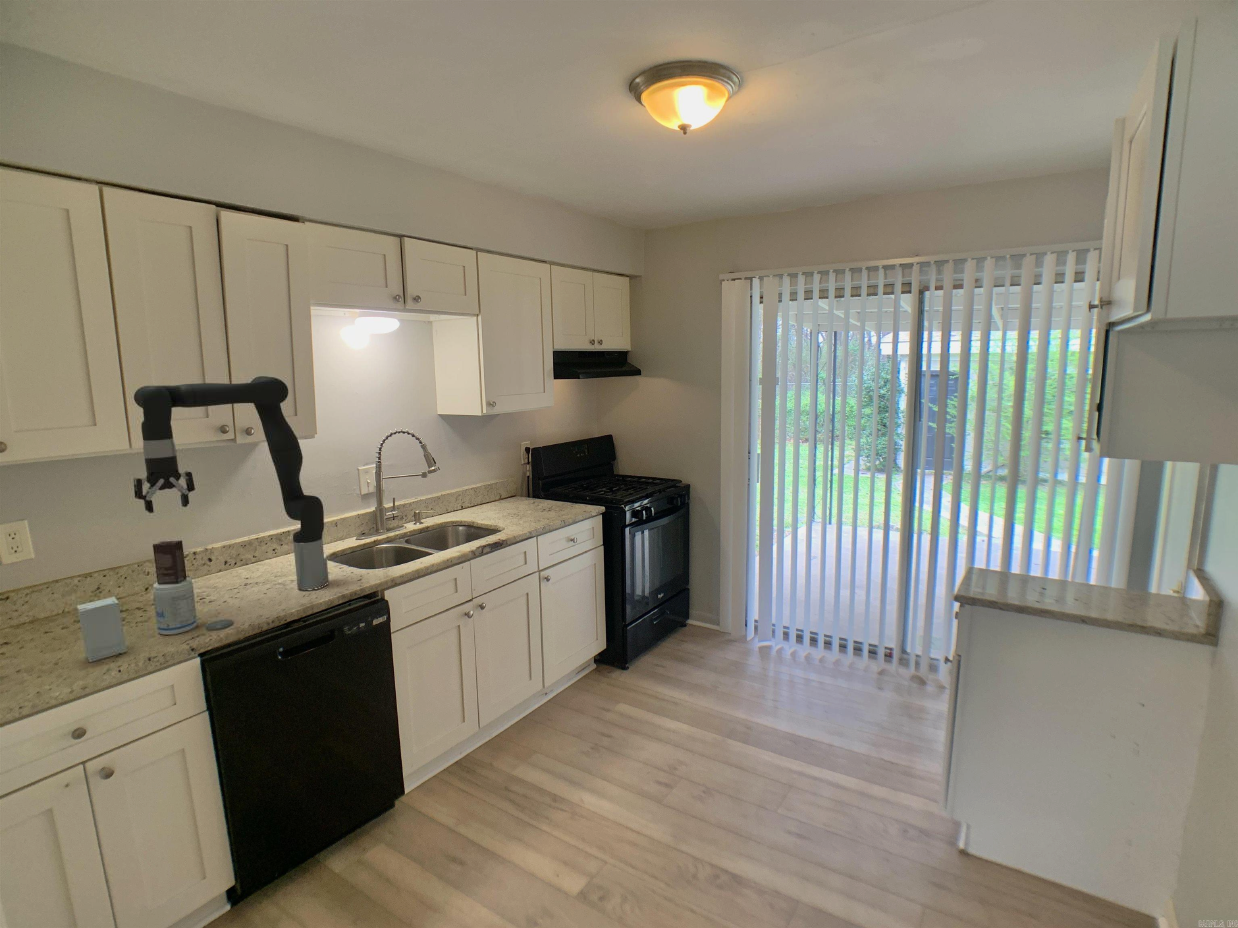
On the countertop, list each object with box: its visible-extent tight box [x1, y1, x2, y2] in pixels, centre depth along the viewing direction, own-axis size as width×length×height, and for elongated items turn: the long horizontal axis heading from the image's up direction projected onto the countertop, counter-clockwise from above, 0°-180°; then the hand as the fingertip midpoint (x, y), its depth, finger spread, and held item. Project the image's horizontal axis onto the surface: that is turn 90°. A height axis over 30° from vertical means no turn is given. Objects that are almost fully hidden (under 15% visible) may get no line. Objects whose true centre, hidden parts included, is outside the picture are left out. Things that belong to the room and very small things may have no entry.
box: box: [152, 540, 187, 584], centre depth 178 cm, size 6×4×12 cm
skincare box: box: [76, 596, 128, 663], centre depth 164 cm, size 8×6×15 cm
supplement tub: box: [152, 577, 198, 636], centre depth 180 cm, size 10×10×15 cm
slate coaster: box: [205, 618, 234, 632], centre depth 183 cm, size 7×7×1 cm
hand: (168, 509), depth 178 cm, fingers open, 8 cm apart
